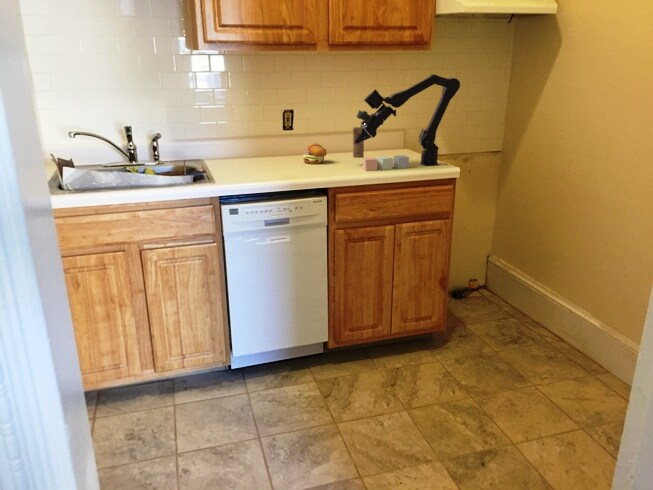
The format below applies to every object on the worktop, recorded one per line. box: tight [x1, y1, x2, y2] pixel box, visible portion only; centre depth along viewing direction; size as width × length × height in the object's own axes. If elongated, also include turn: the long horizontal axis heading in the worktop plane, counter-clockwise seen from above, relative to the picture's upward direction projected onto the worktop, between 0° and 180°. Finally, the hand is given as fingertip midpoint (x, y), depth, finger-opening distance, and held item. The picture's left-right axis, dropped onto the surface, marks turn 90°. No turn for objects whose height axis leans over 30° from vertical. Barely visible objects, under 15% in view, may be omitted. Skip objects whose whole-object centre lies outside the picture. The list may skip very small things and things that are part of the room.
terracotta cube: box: [362, 156, 378, 172], centre depth 240 cm, size 5×5×5 cm
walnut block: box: [352, 126, 365, 159], centre depth 247 cm, size 4×4×13 cm
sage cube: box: [376, 155, 394, 171], centre depth 242 cm, size 5×5×5 cm
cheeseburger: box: [302, 142, 327, 165], centre depth 257 cm, size 10×11×10 cm
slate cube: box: [393, 154, 410, 170], centre depth 244 cm, size 5×5×5 cm
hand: (355, 142), depth 247 cm, fingers closed on walnut block, 4 cm apart
